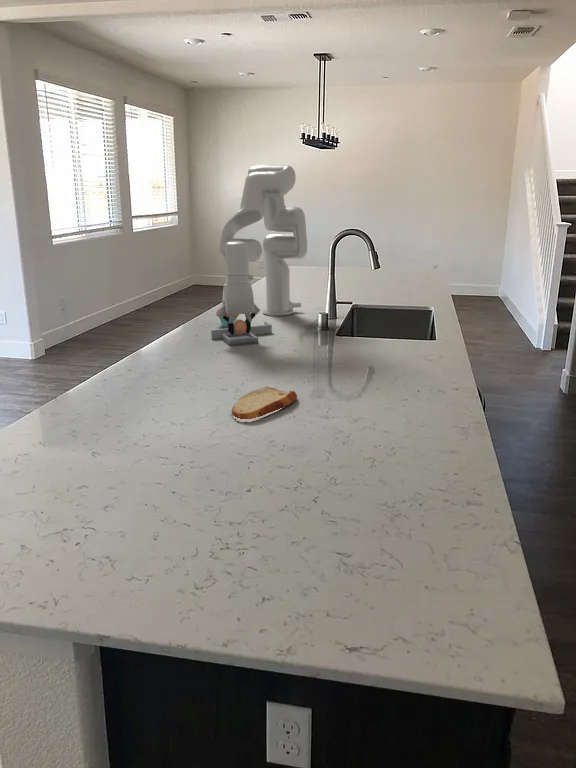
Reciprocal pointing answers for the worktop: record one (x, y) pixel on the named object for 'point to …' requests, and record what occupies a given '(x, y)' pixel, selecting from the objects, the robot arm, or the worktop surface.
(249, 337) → the dish
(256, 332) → the wall
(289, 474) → the worktop surface
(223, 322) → the cupcake
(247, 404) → the bread slice
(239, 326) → the ball
